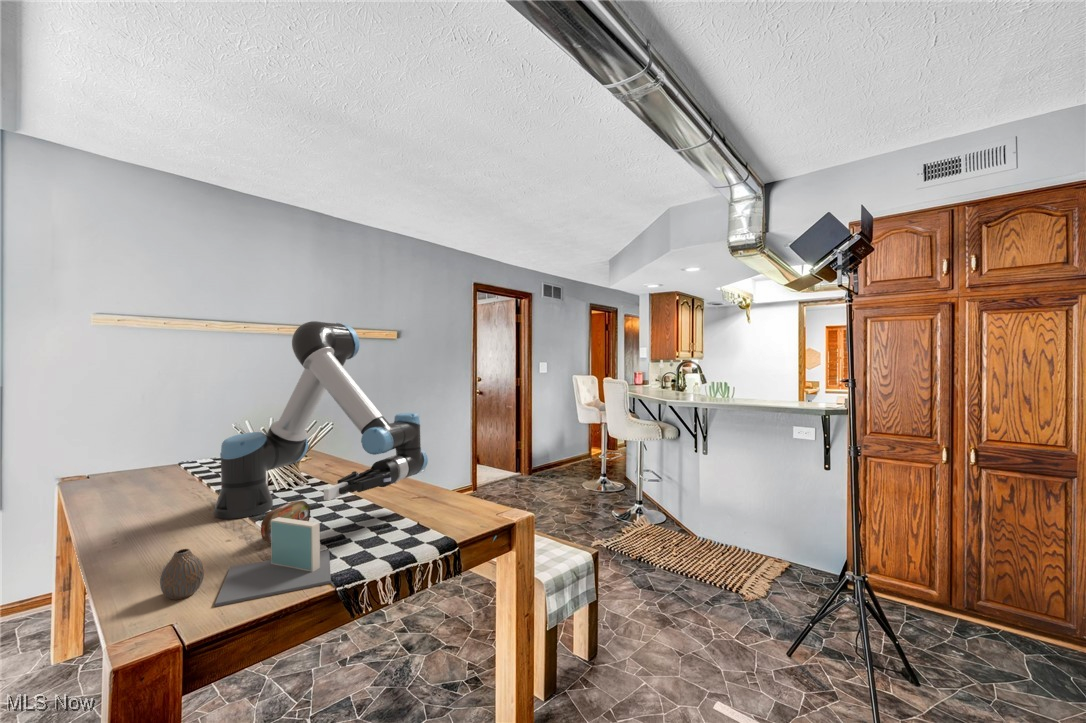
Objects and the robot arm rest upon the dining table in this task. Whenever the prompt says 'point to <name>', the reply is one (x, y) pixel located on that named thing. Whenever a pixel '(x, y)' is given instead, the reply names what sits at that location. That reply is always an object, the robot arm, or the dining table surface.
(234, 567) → the mat
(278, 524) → the tile
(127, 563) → the dining table surface
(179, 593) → the vase
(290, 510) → the tin
